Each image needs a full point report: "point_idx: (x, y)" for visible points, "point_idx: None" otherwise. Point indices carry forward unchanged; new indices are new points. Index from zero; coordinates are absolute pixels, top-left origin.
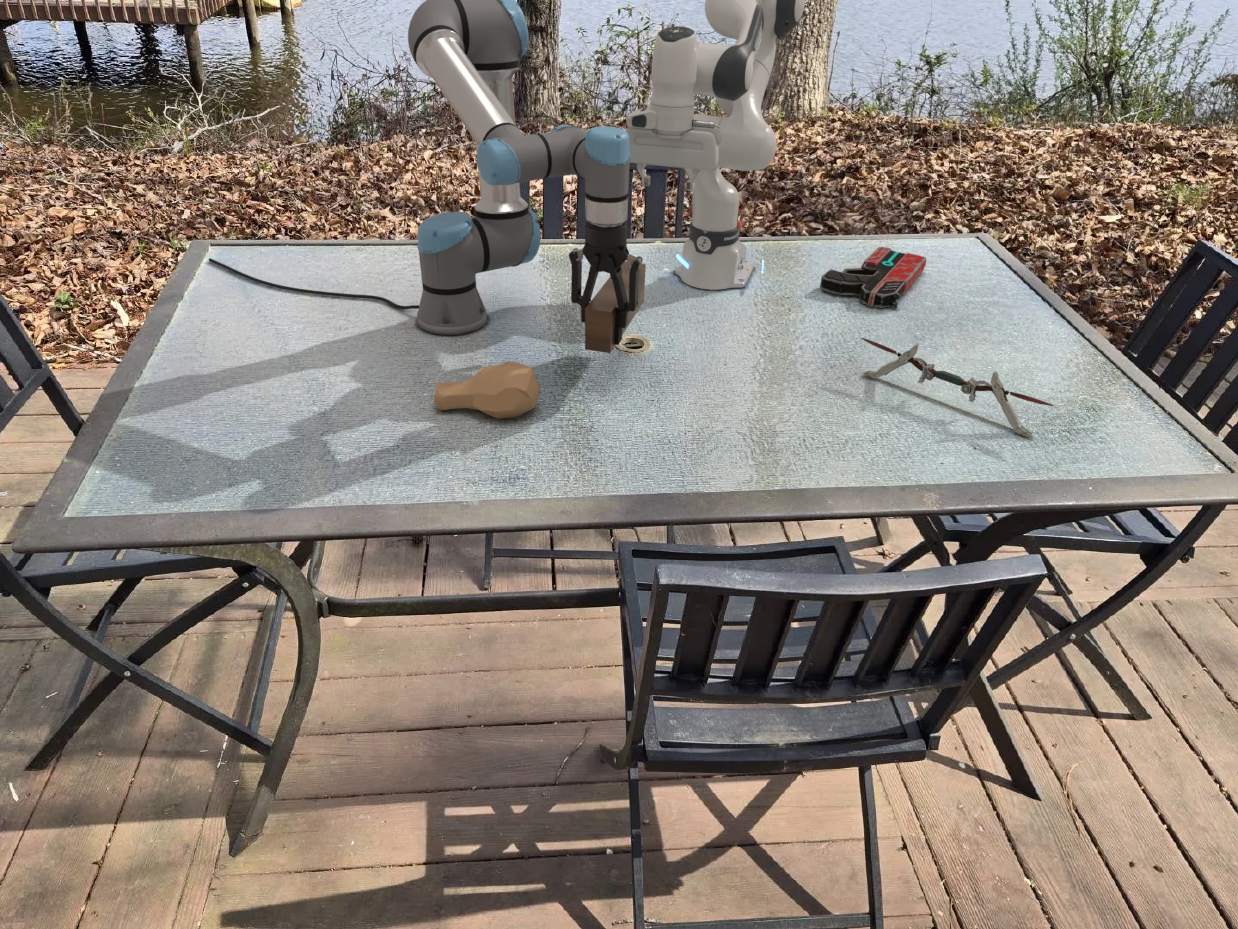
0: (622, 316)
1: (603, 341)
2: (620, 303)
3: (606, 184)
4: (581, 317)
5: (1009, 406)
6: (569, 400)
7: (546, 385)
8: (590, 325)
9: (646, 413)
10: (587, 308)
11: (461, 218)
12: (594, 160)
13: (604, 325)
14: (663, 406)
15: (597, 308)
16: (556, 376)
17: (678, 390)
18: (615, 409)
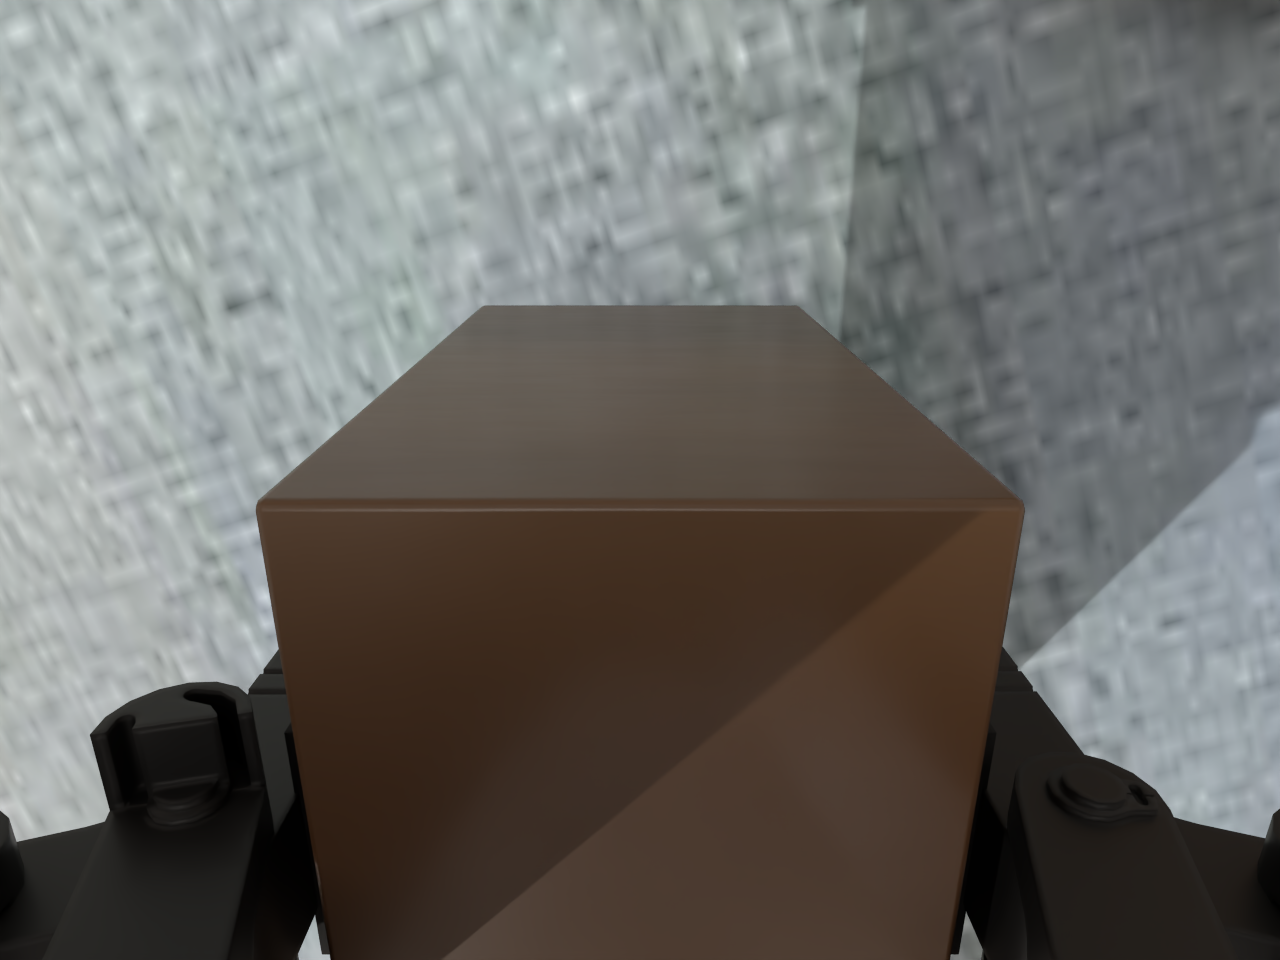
0: (278, 739)
1: (554, 328)
2: (156, 926)
3: None
4: (1006, 660)
5: None
6: (819, 101)
7: (1042, 276)
8: (784, 382)
9: (196, 95)
10: (961, 505)
11: None
12: None
13: (510, 392)
14: (127, 245)
15: (689, 588)
16: (995, 428)
17: (131, 498)
18: (438, 77)
